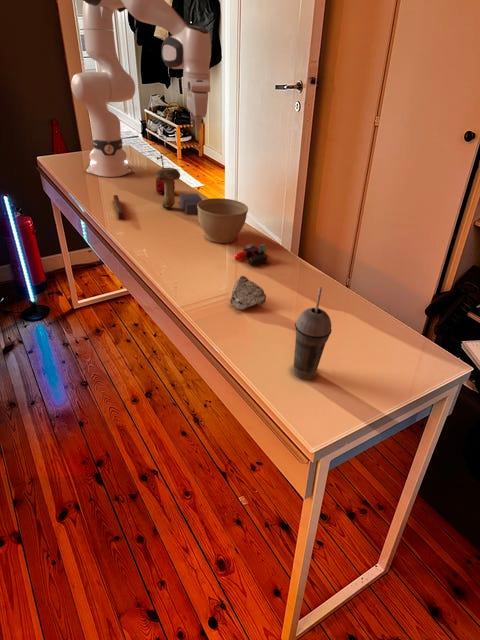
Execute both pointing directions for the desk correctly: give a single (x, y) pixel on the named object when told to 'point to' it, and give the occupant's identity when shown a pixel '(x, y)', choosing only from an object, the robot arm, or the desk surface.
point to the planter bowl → (221, 218)
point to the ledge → (118, 207)
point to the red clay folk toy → (161, 181)
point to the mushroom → (168, 185)
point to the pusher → (190, 203)
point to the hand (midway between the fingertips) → (195, 127)
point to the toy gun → (253, 254)
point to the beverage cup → (310, 340)
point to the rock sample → (246, 294)
